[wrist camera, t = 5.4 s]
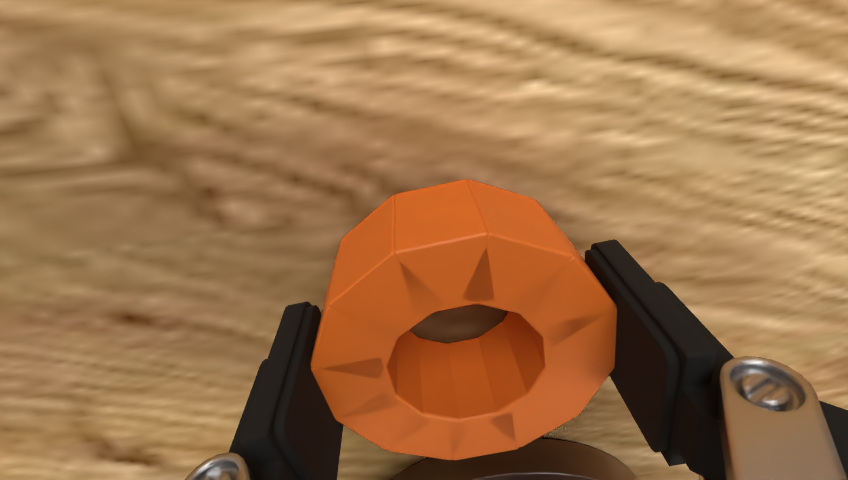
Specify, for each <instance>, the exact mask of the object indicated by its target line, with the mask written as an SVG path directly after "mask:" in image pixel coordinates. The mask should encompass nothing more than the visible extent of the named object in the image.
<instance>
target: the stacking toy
mask: <svg viewBox="0 0 848 480" xmlns="http://www.w3.org/2000/svg"><path fill="white" fill-rule="evenodd" d="M392 480H637V479H636V477H635V475H634V474H633V473H632V472H631V471H630V470H629V469H628V468H627V467H626V466H625V465H624V464H623V463H621V462H620V461H618V460H617V459H616V458H614V457H612V456H610V455H608V454H606V453H604V452H602V451H600V450H597V449H594V448H592V447H589V446H586V445H582V444H577V443H573V442H569V441H562V440H554V439H542V438H537V439H535V440H534V441H532V442H530V443H528V444H526V445H525V446H523V447H519V448H518V449H516V450H510V451H504V452H499V453H493V454H488V455H482V456H477V457H471V458H466V459H460V460H453V459H452V460H446V459H439V458H432V457H430V458H427V459H425V460H423V461H421V462H419V463H417V464H415V465H413V466H411V467H409V468H408V469H406V470H404V471H403V472H401V473H400V474H398V475H397V476H395V477H394V478H393V479H392Z"/></svg>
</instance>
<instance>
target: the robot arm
mask: <svg viewBox="0 0 848 480" xmlns="http://www.w3.org/2000/svg"><path fill="white" fill-rule="evenodd" d="M585 262H586V264H587V265H588V266H589V268H590V269H591V271H592V272H593V273H594V275H595V276H596V278H597V279H598V280H599V282H600V283H601V285H602V286H603V287H604V289H605V290H606V292H607V293H608V294H609V296H610V297H611V298H612V300H613V301H614V303H615V304H616V307H617V308H616V309H617V321H616V345H615V367H614V369H613V371H612V372H611V373H610V374H609V375H610V377H611V379H612V381H613V382H614V384H615V386H616V388H617V390H618V391H619V393H620V395H621V397H622V398H623V400H624V402H625V404H626V405H627V407H628V409H629V411H630V412H631V414H632V416H633V418H634V420H635V421H636V423H637V425H638V427H639V428H640V430H641V432H642V434H643V435H644V437H645V439H646V441H647V443H648V444H649V446H650V448H651V449H652V450H653V451H654V452H661V453H662V455H663V456H664V458H665V460H666V462H667V463H668V465H669V466H673V465H679V464H685V463H686V464H687V466H688V468H689V469H690V470H691V471H693V472H695V473H697V474H699V480H848V410H845V409H842V408H839V407H836V406H833V405H830V404H827V403H824V402H822V401H819V400H818V397H817V394H816V392H815V391H814V389H813V387H812V386H811V384H810V383H809V382H808V381H807V380H806V379H805V378H804V377H803V376H802V375H801V374H799V373H798V372H796V371H794V370H793V369H791V368H790V367H788V366H786V365H783V364H781V363H779V362H776V361H774V360H770V359H765V358H761V357H749V356H744V357H739V358H734V357H733V356H732V355H731V354H730V353H729V352H728V351H727V350H726V349H725V347H724V346H723V345H722V344H721V343H720V342H719V341H718V340H717V339H716V338H715V337H714V336H713V335H712V334H711V333H710V332H709V330H708V329H707V328H706V327H705V326H704V325H703V324H702V323H701V322H700V321H699V320H698V319H697V318H696V317H695V316H694V314H693V313H692V312H691V311H690V310H689V309H688V308H687V307H686V306H685V305H684V304H683V303H682V302H681V301H680V300H679V298H678V297H677V296H676V295H675V294H674V293H673V292H672V291H671V290H670V289H669V288H668V287H667V286H666V285H665V284H663V283H661V282H656V283H655V282H654V281H653V279H652V278H651V277H650V276H649V275H648V274H647V273H646V272H645V271H644V270H643V268H642V267H641V266H640V265H639V264H638V263H637V262H636V261H635V260H634V259H633V258H632V256H631V255H630V254H629V253H628V252H627V251H626V250H625V249H624V248H623V247H622V245H621V244H620V243H619V242H618V241H617V240H609V241H604V242H599V243H594V244H592V246H591V250H587V251H586V252H585ZM320 319H321V312H320V310H319V308H318V307H317V306H316V305H315V306H311V304H310V303H309V302H303V303H298V304H293V305H288V306H286V308H285V311H284V313H283V316H282V319H281V322H280V325H279V328H278V331H277V334H276V336H275V339H274V342H273V345H272V348H271V351H270V354H269V356H268V359H265V360H264V361H263V362H262V364H261V365H260V368H259V370H258V373H257V376H256V379H255V381H254V384H253V387H252V390H251V392H250V395H249V398H248V401H247V403H246V406H245V409H244V412H243V414H242V417H241V420H240V423H239V425H238V428H237V431H236V434H235V436H234V439H233V442H232V445H231V447H230V450H229V453H223V454H218V455H216V456H214V457H211V458H209V459H207V460H206V461H204V462H203V463H202V464H200V465H199V466H197V467H196V468H195V469H194V470H193V471H192V472H191V473H190V474H189V475H188V476H187V478H186V479H185V480H337V473H338V464H339V456H340V448H341V439H342V431H343V424H341V423H340V422H338V421H337V420H336V419H335V418H334V416H333V414H332V411H331V409H330V407H329V405H328V403H327V401H326V399H325V397H324V395H323V393H322V391H321V389H320V387H319V385H318V383H317V381H316V379H315V377H314V374H313V372H312V370H311V366H310V363H311V358H312V354H313V349H314V345H315V341H316V336H317V332H318V328H319V323H320Z"/></svg>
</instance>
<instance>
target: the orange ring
mask: <svg viewBox="0 0 848 480" xmlns="http://www.w3.org/2000/svg"><path fill="white" fill-rule="evenodd" d="M474 304H480V305H484V306H489V307H493V308H497V309H501V310H506V311H508V313H507V315H506V317H505V318H504V320H503V321H502V322H501V323H499V324H498V325H497V326H495V327H494V328H492V329H491V330H489V331H488V332H486V333H485V334H483V335H482V336H480V337H478V338H473V339H468V340H463V341H458V342H452V343H447V344H446V343H441V342H436V341H432V340H427V339H422V338H418V337H417V336H415V335H414V334H413V333H412V332H410V331H409V330H410V329H411V328H412V327H414V326H415V325H417V324H418V323H419V322H421V321H422V320H424V319H425V318H426V317H428V316H429V315H430V314H432V313H433V312H438V311H443V310H448V309H453V308H459V307H464V306H469V305H474ZM616 308H617V307H616V304H615V303H614V301H613V300H612V298H611V297H610V296H609V294H608V293H607V292H606V290H605V289H604V287H603V286H602V285H601V283H600V282H599V280H598V279H597V278H596V276H595V275H594V273H593V272H592V271H591V269H590V268H589V266H588V265H587V264H586V262H585V261H584V259H583V258H582V257H581V255H580V254H579V253H578V251H577V250H576V248H575V247H574V246H573V244H572V243H571V242H570V240H569V239H568V238H567V237H566V236H565V234H564V233H563V232H562V231H561V230H560V228H559V227H558V226H557V225H556V224H555V222H554V221H553V220H552V219H551V217H550V216H549V215H548V214H547V213H546V211H545V210H544V209H543V208H542V207H541V205H540V204H539V203H538V202H537V201H536V200H534V199H533V198H530V197H527V196H523V195H520V194H517V193H513V192H510V191H507V190H503V189H500V188H497V187H493V186H490V185H487V184H483V183H480V182H477V181H473V180H459V181H455V182H450V183H445V184H441V185H436V186H431V187H426V188H422V189H417V190H412V191H408V192H403V193H398V194H395V195H392V196H390V197H389V198H388V199H387V200H386V201H385V202H383V203H382V204H381V205H380V206H379V207H378V208H377V209H375V210H374V211H373V212H372V213H371V214H370V215H368V216H367V217H366V218H365V219H364V220H363V221H362V222H360V223H359V224H358V225H357V226H356V227H355V228H353V229H352V230H351V231H350V232H349V233H348V234H347V235H345V236H344V237H343V238H342V241H341V242H340V245H339V249H338V252H337V256H336V260H335V263H334V267H333V271H332V274H331V278H330V282H329V285H328V289H327V293H326V297H325V301H324V306H323V310H322V315H321V319H320V323H319V328H318V332H317V336H316V341H315V345H314V349H313V354H312V358H311V363H310V366H311V370H312V372H313V374H314V377H315V379H316V381H317V383H318V385H319V387H320V389H321V391H322V393H323V395H324V397H325V399H326V401H327V403H328V405H329V407H330V409H331V411H332V414H333V416H334V418H335V419H336V420H337V421H338V422H340V423H341V424H343V425H345V426H346V427H348V428H349V429H351V430H353V431H354V432H356V433H358V434H359V435H361V436H363V437H364V438H366V439H368V440H369V441H371V442H373V443H374V444H376V445H378V446H379V447H381V448H383V449H384V450H386V451H388V450H389V451H391V452H397V453H404V454H411V455H418V456H425V457H432V458H439V459H446V460H452V459H453V460H460V459H466V458H471V457H477V456H482V455H488V454H493V453H499V452H504V451H510V450H516V449H518V448H519V447H523V446H525V445H526V444H528V443H530V442H532V441H534V440H535V439H537V438H539V437H541V436H543V435H544V434H546V433H548V432H550V431H552V430H553V429H555V428H557V427H559V426H561V425H562V424H564V423H566V422H568V421H570V420H571V419H573V418H575V417H576V416H578V415H579V414H580V413H581V411H582V410H583V409H584V407H585V406H586V405H587V403H588V402H589V401H590V399H591V398H592V397H593V396H594V394H595V393H596V392H597V390H598V389H599V388H600V386H601V385H602V384H603V382H604V381H605V380H606V378H607V377H608V376H609V374H610V373H611V372H612V371H613V369H614V367H615V345H616V321H617V309H616Z"/></svg>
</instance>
